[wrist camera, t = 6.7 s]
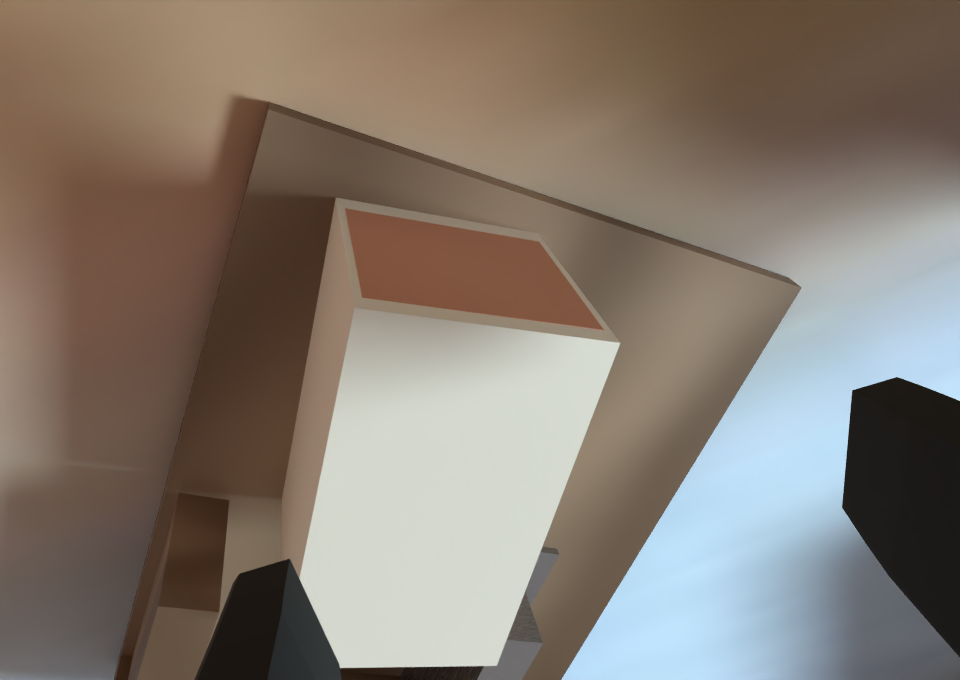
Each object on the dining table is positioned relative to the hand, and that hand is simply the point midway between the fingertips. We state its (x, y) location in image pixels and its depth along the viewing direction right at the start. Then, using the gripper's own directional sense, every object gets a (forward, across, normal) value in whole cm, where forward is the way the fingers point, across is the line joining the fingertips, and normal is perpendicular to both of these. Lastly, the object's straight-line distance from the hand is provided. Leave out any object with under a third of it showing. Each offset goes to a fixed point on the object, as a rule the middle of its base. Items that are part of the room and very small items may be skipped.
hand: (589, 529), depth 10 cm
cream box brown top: (+9, +2, +3) cm, 9 cm away
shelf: (+9, +2, +7) cm, 12 cm away
